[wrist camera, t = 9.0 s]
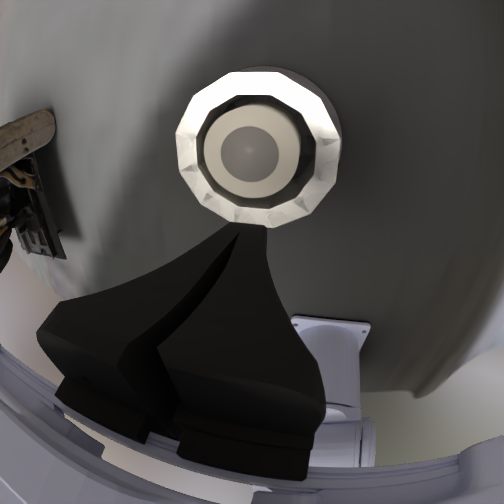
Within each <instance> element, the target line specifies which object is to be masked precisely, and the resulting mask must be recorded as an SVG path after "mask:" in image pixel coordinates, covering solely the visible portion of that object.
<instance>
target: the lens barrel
mask: <svg viewBox="0 0 504 504" xmlns="http://www.w3.org/2000/svg"><path fill="white" fill-rule="evenodd" d="M254 102H270V103H274V104H277V105H279V106H281V107H283V108H284V109H286V110H287V111H288V112H289V113H291V115H292V116H293V117H294V118H295V120H296V121H297V123H298V125H299V128H300V131H301V140H302V142H301V149H300V155H299V161H298V165H297V169H296V171H295V174H294V176H293V177H292V179H291V180H290V181H289V183H288V184H287V185H286V186H285V187H284V188H282V189H281V190H279V191H278V192H276V193H274V194H272V195H269V196H265V197H260V198H248V197H242V196H239V195H236V194H233V193H231V192H229V191H228V190H226V189H225V188H223V187H222V186H221V185H220V184H218V182H217V181H216V180H215V179H214V178H213V176H212V175H211V173H210V172H209V170H208V167H207V165H206V162H205V157H204V143H205V139H206V135H207V133H208V131H209V129H210V128H211V126H212V125H213V123H214V122H215V121H216V120H217V119H218V118H219V117H221V116H222V115H224V114H225V113H227V112H229V111H231V110H234V109H236V108H239V107H242V106H244V105H247V104H250V103H254ZM176 142H177V153H178V164H179V172H180V173H181V175H182V176H183V178H184V179H185V181H186V182H187V184H188V186H189V187H190V189H191V190H192V192H193V193H194V195H195V196H196V198H197V199H198V201H199V202H200V204H202V205H203V206H205V207H207V208H208V209H210V210H212V211H213V212H215V213H217V214H218V215H220V216H222V217H223V218H225V219H227V220H228V221H230V222H239V223H249V224H259V225H265V226H266V227H268V228H275V227H277V226H280V225H283V224H285V223H288V222H290V221H293V220H296V219H298V218H301V217H303V216H306V215H309V214H311V212H312V211H313V210H314V209H315V207H316V206H317V205H318V204H319V203H320V201H321V200H322V199H323V198H324V196H325V195H326V194H327V193H328V192H329V190H330V189H331V188H332V187H333V185H334V184H335V183H336V176H337V168H338V163H339V160H340V156H341V150H342V131H341V125H340V122H339V118H338V116H337V113H336V111H335V109H334V107H333V105H332V103H331V102H330V100H329V99H328V98H327V96H326V95H325V94H324V93H323V91H322V90H320V89H319V88H318V87H317V86H316V85H315V84H314V83H312V82H311V81H310V80H308V79H307V78H305V77H303V76H301V75H299V74H298V73H295V72H293V71H290V70H287V69H283V68H278V67H270V66H259V67H251V68H245V69H242V70H239V71H236V72H234V73H229V74H228V75H226V76H224V77H223V78H221V79H219V80H218V81H216V82H214V83H213V84H211V85H210V86H208V87H206V88H205V89H203V90H202V91H200V92H199V93H197V94H196V95H194V96H193V98H192V100H191V102H190V104H189V106H188V108H187V110H186V112H185V114H184V116H183V118H182V120H181V122H180V125H179V127H178V129H177V131H176Z"/></svg>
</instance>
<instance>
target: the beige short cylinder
mask: <svg viewBox="0 0 504 504" xmlns="http://www.w3.org/2000/svg"><path fill="white" fill-rule="evenodd" d="M301 142H302V140H301V131H300V128H299V125H298V123H297V121H296V120H295V118H294V117H293V116H292V115H291V113H289V112H288V111H287V110H286V109H284V108H283V107H281V106H279V105H277V104H274V103H270V102H254V103H250V104H247V105H244V106H242V107H239V108H236V109H234V110H231V111H229V112H227V113H225V114H224V115H222V116H221V117H219V118H218V119H217V120H216V121H215V122H214V123H213V125H212V126H211V128H210V129H209V131H208V133H207V135H206V139H205V143H204V157H205V162H206V165H207V167H208V170H209V172H210V173H211V175H212V176H213V178H214V179H215V180H216V181H217V182H218V184H220V185H221V186H222V187H223V188H225V189H226V190H228V191H229V192H231V193H233V194H236V195H239V196H242V197H248V198H260V197H265V196H269V195H272V194H274V193H276V192H278V191H279V190H281V189H282V188H284V187H285V186H286V185H287V184H288V183H289V181H290V180H291V179H292V177H293V176H294V174H295V171H296V169H297V165H298V161H299V155H300V149H301Z"/></svg>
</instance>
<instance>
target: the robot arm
mask: <svg viewBox="0 0 504 504" xmlns="http://www.w3.org/2000/svg"><path fill="white" fill-rule="evenodd" d="M266 247H267V228H266V226H265V225H259V224H249V223H239V222H230V223H229V224H227V225H226V226H224V227H223V228H221V229H220V230H218V231H217V232H216V233H214V234H213V235H211V236H210V237H208V238H207V239H206V240H204V241H203V242H201V243H200V244H198V245H197V246H195V247H194V248H192V249H191V250H189V251H187V252H186V253H184V254H183V255H181V256H180V257H178V258H176V259H175V260H173V261H171V262H169V263H167V264H166V265H164V266H162V267H160V268H158V269H156V270H154V271H152V272H150V273H148V274H145V275H143V276H141V277H138V278H136V279H134V280H131V281H129V282H127V283H124V284H121V285H119V286H116V287H113V288H110V289H107V290H104V291H101V292H98V293H94V294H91V295H87V296H83V297H78V298H74V299H70V300H66V301H61V302H59V303H58V305H57V306H56V307H55V308H54V309H53V311H52V312H51V313H50V314H49V316H48V317H47V318H46V320H45V321H44V322H43V324H42V325H41V326H40V328H39V329H38V330H37V332H36V334H37V341H38V343H39V344H40V346H41V348H42V349H43V351H44V352H45V353H46V355H47V356H48V357H49V358H50V360H51V361H52V362H53V363H54V365H55V366H56V367H57V368H58V369H59V370H60V371H61V373H62V374H63V375H64V376H65V378H64V379H63V381H62V383H61V384H60V386H59V387H58V386H56V385H55V384H53V383H52V382H50V381H48V380H47V379H45V378H44V377H42V376H41V375H39V374H38V373H36V372H35V371H33V370H32V369H31V368H29V367H28V366H27V365H25V364H24V363H22V362H21V361H20V360H18V359H17V358H16V357H14V356H13V355H12V354H10V353H9V352H8V351H7V350H5V349H4V348H3V347H2V346H1V344H0V504H219V503H215V502H210V501H207V500H203V499H199V498H196V497H192V496H189V495H186V494H183V493H180V492H177V491H174V490H171V489H168V488H165V487H162V486H160V485H157V484H155V483H152V482H150V481H147V480H145V479H143V478H140V477H138V476H136V475H133V474H131V473H129V472H127V471H125V470H123V469H120V468H118V467H116V466H114V465H112V464H110V463H109V462H107V461H105V460H103V459H102V457H101V455H102V453H103V451H104V448H105V447H104V445H103V444H101V443H100V442H98V441H97V440H95V439H94V438H92V437H91V436H89V435H88V434H86V433H85V432H83V431H82V430H81V429H79V428H78V427H77V426H76V425H74V424H73V423H72V422H70V421H69V420H68V419H66V418H65V417H64V413H65V414H66V415H68V416H70V417H71V418H73V419H75V420H76V421H78V422H80V423H81V424H83V425H85V426H87V427H88V428H90V429H92V430H94V431H96V432H98V433H99V434H101V435H103V436H105V437H107V438H109V439H111V440H114V441H116V442H117V443H120V444H122V445H124V446H126V447H128V448H131V449H133V450H135V451H138V452H140V453H142V454H145V455H147V456H150V457H152V458H155V459H158V460H160V461H163V462H166V463H169V464H172V465H174V466H177V467H180V468H184V469H187V470H190V471H194V472H197V473H201V474H204V475H208V476H212V477H216V478H220V479H224V480H229V481H233V482H238V483H244V484H249V485H253V499H252V502H251V504H504V436H499V437H496V438H493V439H489V440H486V441H483V442H480V443H477V444H475V445H473V446H470V447H469V448H467V449H465V450H463V451H462V452H460V454H457V455H453V456H448V457H444V458H438V459H434V460H428V461H422V462H415V463H408V464H399V465H390V466H377V467H374V461H375V443H376V442H375V441H376V440H375V439H376V433H375V422H373V421H372V420H370V417H364V418H363V428H362V437H361V440H360V435H361V408H360V368H359V351H360V349H361V347H362V345H363V343H364V341H365V339H366V337H367V335H368V333H369V331H370V328H371V327H370V324H369V323H363V322H352V321H341V320H331V319H322V318H312V317H304V316H293V317H292V318H291V321H290V319H289V317H288V315H287V313H286V311H285V309H284V307H283V305H282V303H281V301H280V299H279V296H278V294H277V291H276V289H275V286H274V283H273V280H272V277H271V274H270V270H269V266H268V262H267V257H266ZM295 323H296V324H295ZM363 330H364V331H363ZM359 464H360V467H359Z"/></svg>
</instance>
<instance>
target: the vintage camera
mask: <svg viewBox="0 0 504 504" xmlns="http://www.w3.org/2000/svg"><path fill="white" fill-rule="evenodd" d="M54 133H55V121H54V116H53V115H52V114H51V113H50V112H48V111H47V110H40V111H36V112H34V113H31V114H29V115H26V116H24V117H22V118H19V119H17V120H15V121H13V122H9V123H7V124H5V125H3V126H1V127H0V273H1V272H2V270H3V269H4V267H5V266H6V264H7V263H8V261H9V258H10V256H11V253H12V249H13V244H12V241H11V240H10V239H9V238H10V235H11V232H12V228H15V230H16V233H17V236H18V239H19V242H20V243H21V247H22V248H23V250H26V253H27V254H29V253H35V254H39V255H45V256H50V257H52V258H53V259H54V257H55V258H60V259H65V260H66V259H67V258H66V255H65V253H64V250H63V247H62V245H61V242H60V239H59V236H58V233H59V232H61V231H62V230H58V231H57V230H56V227H55V224H54V221H53V218H52V215H51V212H50V209H49V205H48V202H47V199H46V196H45V193H44V190H43V187H42V183H41V179H40V175H39V171H38V167H37V163H36V159H35V156H34V152H33V151H35V150H37V149H39V148H40V147H42V146H44V145H46V144H47V143H48V142H50V141H51V139H52V137H53V135H54Z"/></svg>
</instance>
